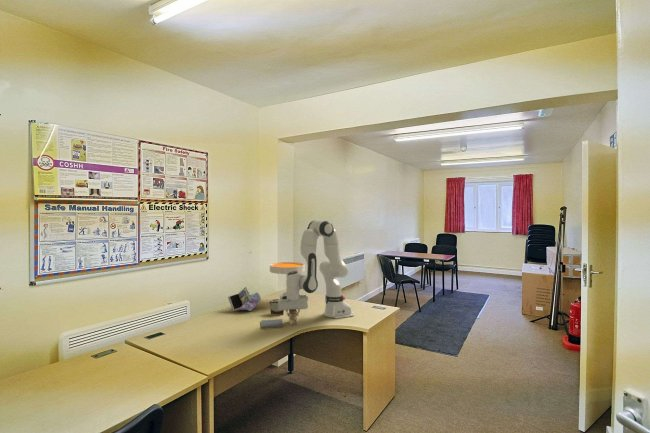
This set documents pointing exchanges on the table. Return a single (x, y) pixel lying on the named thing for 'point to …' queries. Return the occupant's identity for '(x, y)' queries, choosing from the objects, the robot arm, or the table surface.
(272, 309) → the half chocolate cake
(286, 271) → the orange pedestal table
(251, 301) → the pastel lumpy piece
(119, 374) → the table surface
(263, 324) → the mat
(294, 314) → the tall wooden block
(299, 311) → the robot arm
